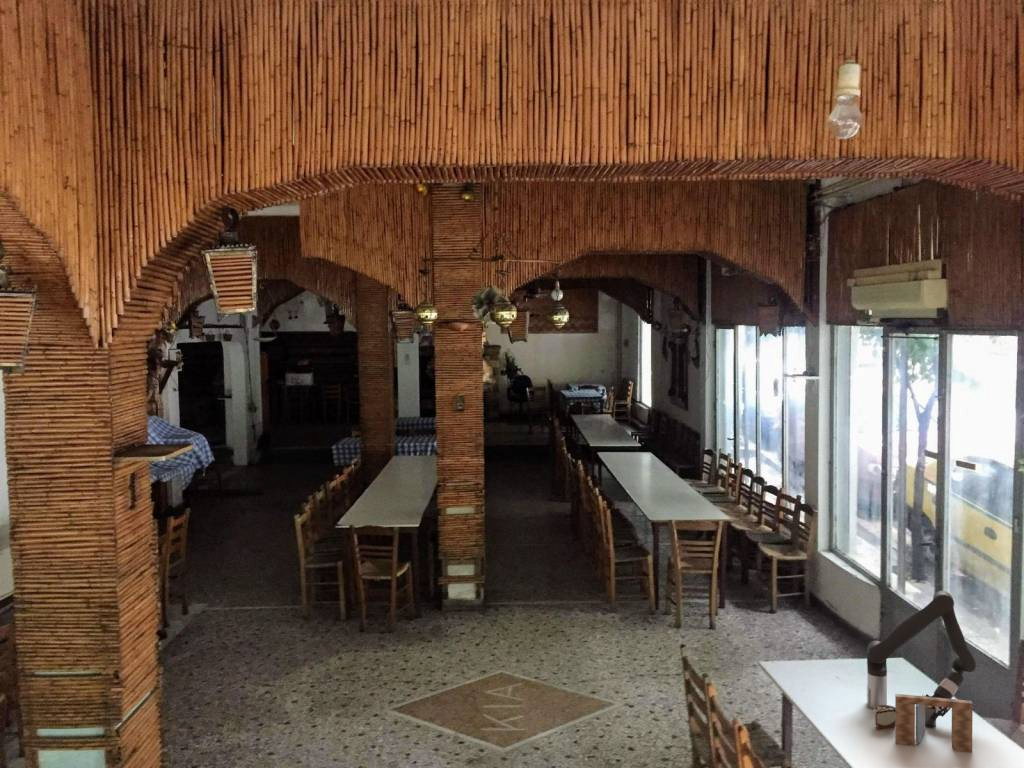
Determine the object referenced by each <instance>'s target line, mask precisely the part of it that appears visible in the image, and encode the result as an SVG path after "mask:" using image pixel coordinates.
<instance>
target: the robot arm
mask: <svg viewBox="0 0 1024 768" xmlns="http://www.w3.org/2000/svg"><path fill="white" fill-rule="evenodd" d="M954 606H955V601H954V599H953V596H952V595H951V594H950V593H949V592H948V591H946V590H938V591H937V592H935V593H934V594H933V597H932V600H931V601H930V602H929V603H928V604H927V605H926V606H925V607H923V608H922V609H920V610H918V611H915V612H914V613H911V614H909V615H908V616H906V617H905V618H904V619H902V620H901V621H899V622H898V624H897V625H896V626H895V627H894V628H893V629H892V631H891V632H890V633H889V635H888V636H887V637H886V638H885V639H883V640H881V641H879V640H872V641H870V642H869V643H868V645H867V647H866V665H867V667H866V669H867V679H866V681H867V684H866V703H867V704H866V705H867V707H868V708H871V709H874V707H875V706H877V705H888V669H887V667H888V666H887V659H889V658H890V657H891V656H892V655H893V654H894V653H895V652H896V651H897V650H898V649H900V648H901V647H902V646H905V645H906V644H907V643H908V642H909V641H911V640H912V639H914V638H915V637H916V636H918V635H919V634H920V633H921V632H922V631H924V630H925V629H926V628H927V627H929V626H930V625H931V624H932V623H933V622H934V621H935V620H937V619H939V618H940V617H941V619H942V621H943V625H944V628H945V632H946V635H947V638H948V642H949V645H950V647H951V649H952V652H953V653H955V654H956V655H957V656H956V657H955V658H954V660H953V661H952V664H951V666H950V669H949V672H948V673H947V675H946V676H945V677H944V679H943V680H941V682H939V684H938V686H937V687H936V688H935V690H934V692H933V695H929V694H925V695H924V696H925V697H936V698H946V699H953V697H954V696H955V694H956V693H957V691H958V689H959V688H960V686H961V685H962V683H963V682H964V679H965V678H964V676H963V673H964V672H967V673H972V672H974V671H975V670H976V668H977V664H976V659H975V657H974V655H973V654H972V652H971V651H970V649H969V647H968V645H967V642H966V639H965V637H964V633H963V631H962V629H961V627H960V624H959V622H958V619H957V616H956V612H955V607H954ZM934 707H935V708H936V710H935V713H934V714H933V715H932V716H931V718H930V720H931V721H933V722H934V721H935V720H936V721H937V719H938V718H939V717H941V718H943V717H944V716H946V714H948V712H949V711H951V710H952V708H947V707H937V706H934Z"/></svg>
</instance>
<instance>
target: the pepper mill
mask: <svg viewBox="0 0 1024 768" xmlns="http://www.w3.org/2000/svg"><path fill="white" fill-rule="evenodd" d="M935 710H936V708H935V707H934V706H926V705H925V728H929V729H936V728H937V719H936V720H935V721H934V722H933V721H931V720H930V718H931V716H932V715H933V714H934V713H935Z"/></svg>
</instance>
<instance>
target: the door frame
mask: <svg viewBox="0 0 1024 768" xmlns="http://www.w3.org/2000/svg"><path fill="white" fill-rule="evenodd" d="M925 696H926V695H924V696H922V695H914V694H913V695H912V694H901V693H895V702H894V703H895V706H894V707H895V731H894V734H895V736H894V737H895V738H894V741H895V745H902V746H908V747H909V746H911V747H916V746H915V745H916V705H926V706H937V707H947V708H951V749H952V751H956V752H965V753H966V752H967V753H973V708H974V707H973V705H974V704H973V701H972V700H966V699H965V700H964V699H957V698H956V699H954V698H952V699H946V698H936V697H925Z"/></svg>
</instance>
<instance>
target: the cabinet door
mask: <svg viewBox="0 0 1024 768" xmlns="http://www.w3.org/2000/svg"><path fill="white" fill-rule="evenodd" d="M921 696H925V695H923V694H922V695H921ZM925 732H926V727H925V705H916V704H915V744H917V745H918V744H919V743H920V742H921V740H922V738H923V736H924V735H925Z"/></svg>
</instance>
